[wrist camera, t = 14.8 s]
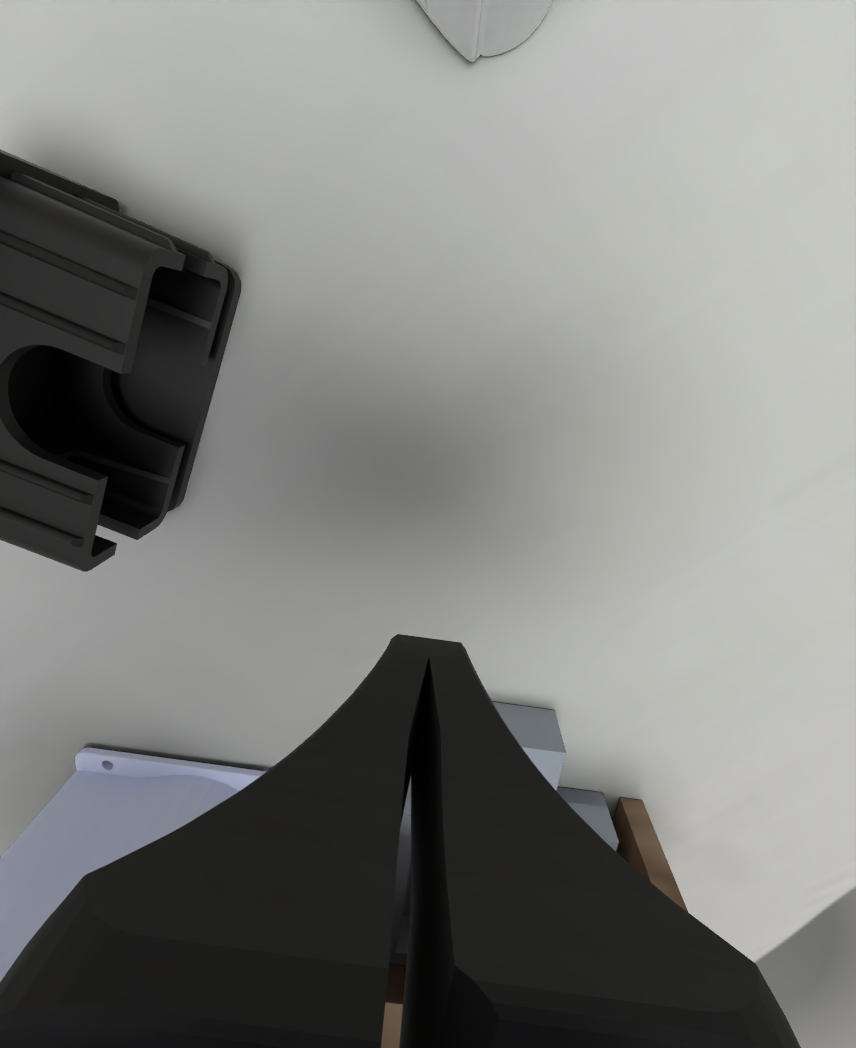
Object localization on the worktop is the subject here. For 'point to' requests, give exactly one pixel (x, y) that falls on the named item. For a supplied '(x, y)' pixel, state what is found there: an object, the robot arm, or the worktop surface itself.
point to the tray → (548, 755)
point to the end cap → (98, 365)
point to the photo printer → (485, 23)
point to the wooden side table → (633, 846)
